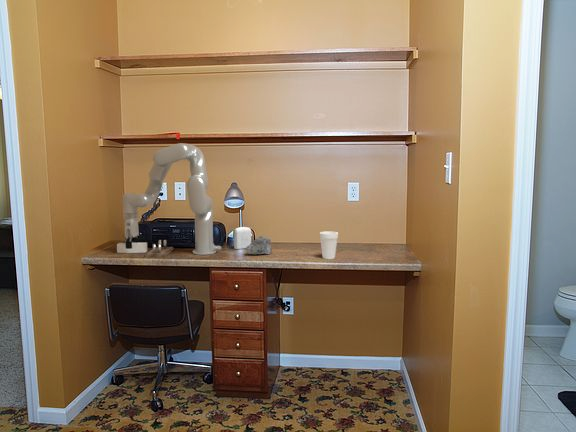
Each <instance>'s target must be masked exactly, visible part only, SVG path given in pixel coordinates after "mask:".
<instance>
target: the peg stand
mask: <svg viewBox="0 0 576 432" xmlns="http://www.w3.org/2000/svg"><path fill="white" fill-rule="evenodd" d="M173 250H174V246H167V239H164V240H163V246H162V239H159V240H158V243H157V246H156V243H153V244H152V249H151V250H149V251H147V252H145V258H166V257H167V256H168V255H169V254H170V253H171V252H172V251H173Z"/></svg>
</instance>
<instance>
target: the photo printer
mask: <svg viewBox="0 0 576 432" xmlns="http://www.w3.org/2000/svg"><path fill="white" fill-rule="evenodd" d="M251 243H252V228H250V227H249V226H248V227H247V226H240V227H236V228H235V229H234V230H233V247H234V250H241V249H242V250H243V249H247V248H246V247H247V246H248V245H250V244H251Z"/></svg>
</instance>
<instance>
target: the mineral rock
mask: <svg viewBox="0 0 576 432" xmlns="http://www.w3.org/2000/svg"><path fill="white" fill-rule="evenodd" d="M245 249H246V251H245V252H246V253H247V254H250V255H257V256H258V255H259V256H260V255H271V254H272V246H271V238H270V236H264V235H260V236H258V237H257V238H256V239H255V240H252V241H251V244H250V245H248V246H247V247H246V248H245Z"/></svg>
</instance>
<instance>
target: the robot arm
mask: <svg viewBox="0 0 576 432" xmlns="http://www.w3.org/2000/svg"><path fill="white" fill-rule="evenodd" d="M185 160H187V161H189V171H190V177H189V178H188V179H187V181H186V182H187V183H186V191H187V198H188V204H189V208H190V210H191V211H192V212H193V213H194V235H195V236H194V239H195V241H194V242H195V247H194V248H195V249H193V250H192V253H193V255H199V256H206V255H212V254H213V255H214V254H216V253H217V250H219V251H220V250H222V246H221V245H215V243H214V226H213V225H214V223H213V222H214V218H213V217H214V201H213V199H212V198H211V197H210V196H209V195H208V194H207V190H208V188H209V186H210V182H209V178H208V177H209V176H208V170H207V165H206V159H205V156H204V153H203V151H202V150H201V149H200V148H199V147H198V146H196V145H194V144H190V143H185V142H184V143H183V142H180V143H176V144H173V145H170V146H167V147H165V148H160V149H158V150H156V151H154V154H153V156H152V161H153V164H152V167H151V168H150V170H149V172H148V174H147V175H148V179H149V182H148V185H147V187H146V190H145V192H142V193H133V192H132V193H131V192H128V193H124V194H123V196H122V207H123V210H122V211H123V215H122V216H123V220H124V237H125V240H124V241H125V243H126V249H132V243H138V235H140V232H139V221H138V220H139V208H146V207H150V206H153V205H154V204H155V202H156V201H157V199H158V197H159V196H160V193H161V191H162V188H163V184H164V180H165V178H166V177H167V175H168V172H169V171H170V169H171V167H172V165H173V163H174V164H175V163H177V162H179V161H185Z"/></svg>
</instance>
